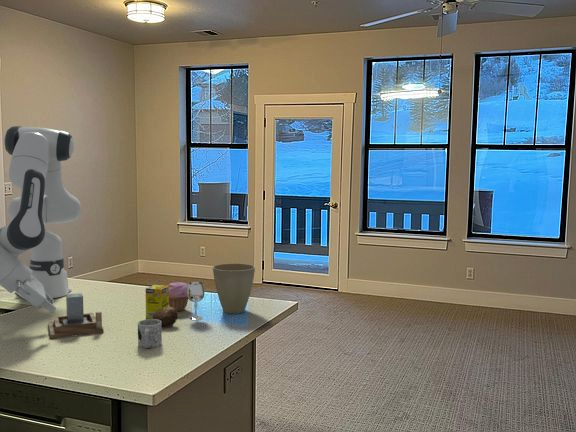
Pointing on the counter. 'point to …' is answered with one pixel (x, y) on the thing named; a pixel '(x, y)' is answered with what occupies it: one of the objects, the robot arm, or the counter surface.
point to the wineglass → (195, 296)
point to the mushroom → (166, 316)
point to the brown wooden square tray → (76, 326)
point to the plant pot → (233, 285)
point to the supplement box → (156, 299)
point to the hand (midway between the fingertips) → (53, 306)
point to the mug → (149, 333)
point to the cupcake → (178, 295)
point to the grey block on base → (74, 309)
